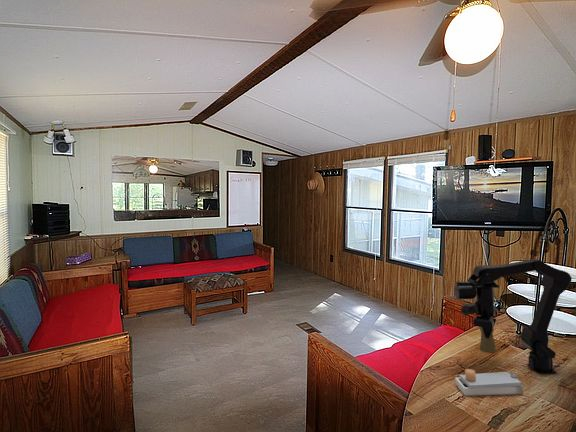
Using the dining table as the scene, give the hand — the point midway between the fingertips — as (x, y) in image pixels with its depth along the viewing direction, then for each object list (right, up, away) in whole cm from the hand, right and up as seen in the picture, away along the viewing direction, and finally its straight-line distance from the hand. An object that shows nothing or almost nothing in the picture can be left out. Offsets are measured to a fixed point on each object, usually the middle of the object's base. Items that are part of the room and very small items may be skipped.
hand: (487, 338), depth 124 cm
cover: (-7, -10, -14) cm, 19 cm away
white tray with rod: (-8, -13, -13) cm, 20 cm away
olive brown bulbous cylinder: (+10, -11, +15) cm, 22 cm away
